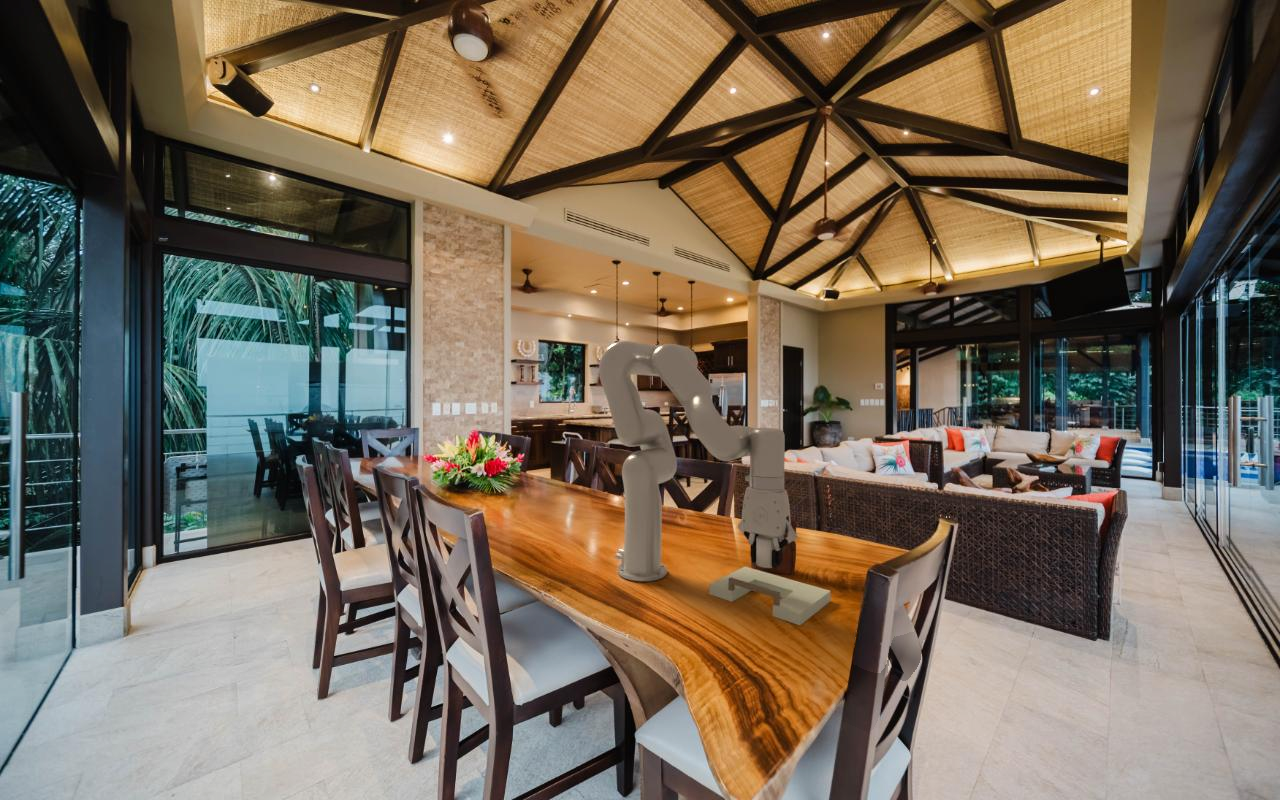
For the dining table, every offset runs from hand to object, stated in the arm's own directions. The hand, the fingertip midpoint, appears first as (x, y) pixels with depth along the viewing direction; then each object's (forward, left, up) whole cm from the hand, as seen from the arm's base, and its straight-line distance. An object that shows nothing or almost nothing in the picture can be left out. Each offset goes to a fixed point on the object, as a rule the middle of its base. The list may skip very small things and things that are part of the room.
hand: (766, 563), depth 112 cm
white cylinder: (0, 0, 0) cm, 0 cm away
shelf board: (0, +2, -9) cm, 9 cm away
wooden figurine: (-8, +19, -9) cm, 23 cm away
